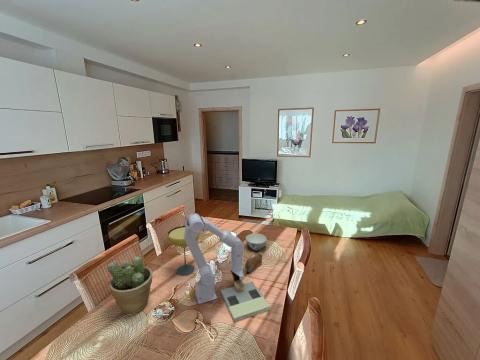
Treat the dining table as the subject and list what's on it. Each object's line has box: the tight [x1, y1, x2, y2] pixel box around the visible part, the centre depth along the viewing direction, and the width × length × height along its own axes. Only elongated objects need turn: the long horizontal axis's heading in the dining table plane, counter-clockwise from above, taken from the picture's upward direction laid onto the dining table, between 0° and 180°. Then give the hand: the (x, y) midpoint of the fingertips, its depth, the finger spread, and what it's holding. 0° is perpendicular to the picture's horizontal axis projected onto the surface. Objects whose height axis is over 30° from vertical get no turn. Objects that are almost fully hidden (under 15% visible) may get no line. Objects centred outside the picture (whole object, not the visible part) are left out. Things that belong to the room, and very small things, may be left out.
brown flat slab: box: [244, 252, 263, 274], centre depth 134 cm, size 15×3×8 cm, turn 141°
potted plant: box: [106, 256, 153, 315], centre depth 103 cm, size 18×19×25 cm
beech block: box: [233, 279, 245, 293], centre depth 114 cm, size 4×4×4 cm
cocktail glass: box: [166, 225, 200, 277], centre depth 130 cm, size 18×18×25 cm
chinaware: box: [245, 233, 268, 251], centre depth 157 cm, size 15×15×8 cm
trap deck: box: [220, 280, 271, 323], centre depth 108 cm, size 18×19×2 cm
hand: (236, 283), depth 117 cm, fingers closed
